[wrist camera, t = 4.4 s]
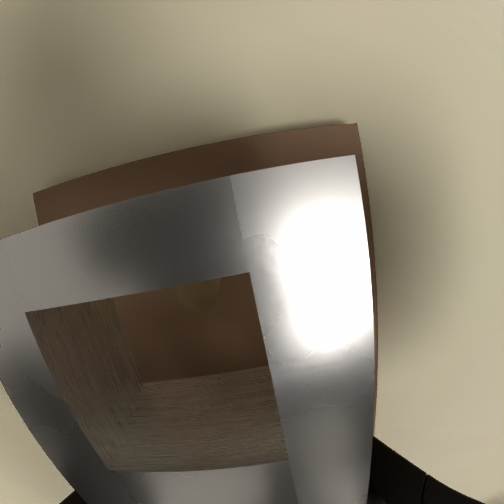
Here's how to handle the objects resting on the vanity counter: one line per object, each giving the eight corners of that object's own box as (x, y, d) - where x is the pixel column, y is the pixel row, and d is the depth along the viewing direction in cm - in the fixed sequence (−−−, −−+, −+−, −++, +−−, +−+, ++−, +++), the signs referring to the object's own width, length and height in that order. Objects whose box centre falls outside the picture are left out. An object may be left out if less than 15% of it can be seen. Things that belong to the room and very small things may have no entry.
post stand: (363, 477, 13) (391, 550, 8) (174, 503, 13) (163, 577, 8) (347, 127, 9) (438, 90, 4) (45, 192, 9) (-63, 210, 4)
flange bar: (339, 533, 9) (351, 583, 6) (208, 550, 9) (206, 599, 6) (303, 164, 6) (355, 154, 3) (42, 227, 6) (-47, 258, 3)
